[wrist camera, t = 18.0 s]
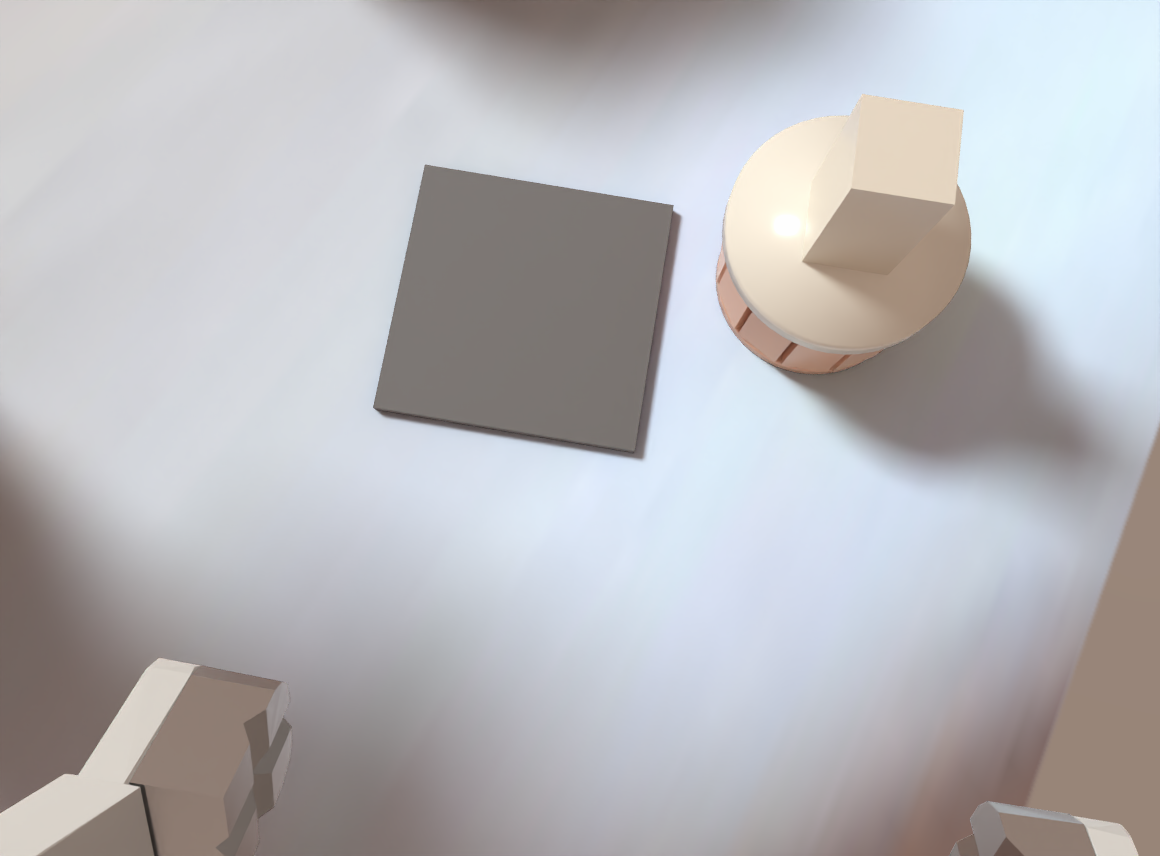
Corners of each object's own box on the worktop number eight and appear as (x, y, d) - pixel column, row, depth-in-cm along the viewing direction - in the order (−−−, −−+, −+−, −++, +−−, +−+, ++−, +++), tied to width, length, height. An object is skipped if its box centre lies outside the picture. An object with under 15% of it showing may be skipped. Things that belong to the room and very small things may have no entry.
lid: (707, 333, 39) (743, 263, 32) (738, 113, 41) (779, -5, 34) (948, 372, 39) (1044, 311, 32) (968, 149, 41) (1064, 39, 33)
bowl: (703, 357, 45) (721, 323, 40) (729, 179, 47) (750, 124, 41) (894, 388, 45) (938, 359, 39) (913, 210, 46) (958, 158, 41)
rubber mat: (375, 409, 44) (373, 407, 44) (426, 169, 46) (425, 164, 46) (633, 452, 44) (634, 450, 43) (672, 209, 46) (673, 205, 46)
